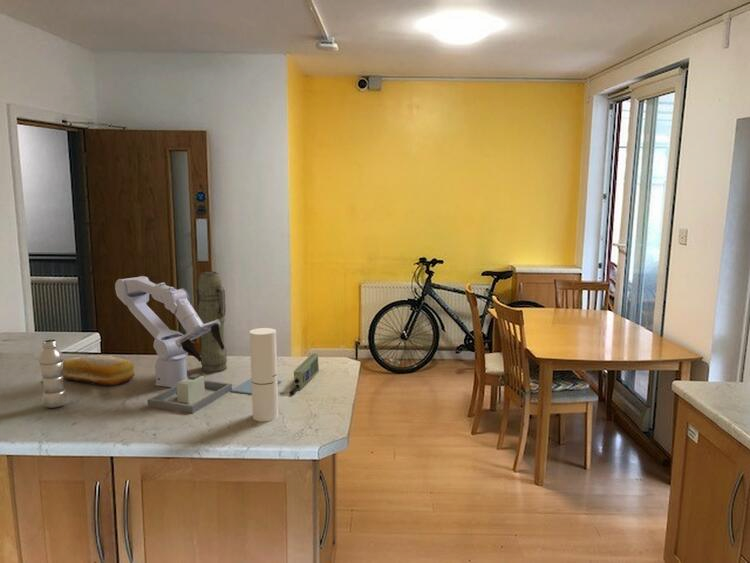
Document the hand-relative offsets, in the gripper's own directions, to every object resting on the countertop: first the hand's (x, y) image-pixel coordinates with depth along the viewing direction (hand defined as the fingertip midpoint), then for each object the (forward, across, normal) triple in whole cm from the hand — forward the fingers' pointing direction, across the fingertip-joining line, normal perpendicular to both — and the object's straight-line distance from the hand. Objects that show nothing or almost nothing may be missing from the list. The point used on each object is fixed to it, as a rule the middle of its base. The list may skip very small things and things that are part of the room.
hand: (211, 353), depth 174 cm
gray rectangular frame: (+6, -10, +10) cm, 15 cm away
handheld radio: (+20, +22, +13) cm, 33 cm away
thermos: (-7, +4, +30) cm, 31 cm away
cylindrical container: (+28, +2, -6) cm, 28 cm away
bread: (-24, -30, +30) cm, 49 cm away
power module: (+6, -10, +10) cm, 15 cm away
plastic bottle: (-14, -44, +13) cm, 48 cm away
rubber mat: (+12, +9, +13) cm, 20 cm away
